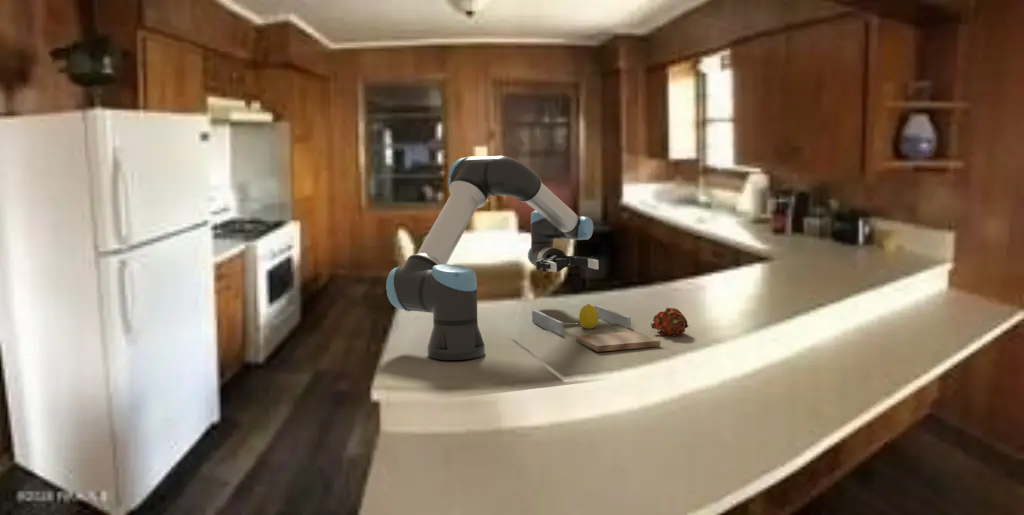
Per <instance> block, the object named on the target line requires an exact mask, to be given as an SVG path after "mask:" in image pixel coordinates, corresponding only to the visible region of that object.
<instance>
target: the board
mask: <svg viewBox="0 0 1024 515" xmlns="http://www.w3.org/2000/svg"><path fill="white" fill-rule="evenodd" d="M576 342H578V343H579V344H582V345H583V346H585V347H587V348H589V349H590V350H593V351H595V352H597V353H598V352H599V353H600V352H609V351H612V352H613V351H620V350H621V351H622V350H633V349H644V348H656V347H661V340H660V339H657V338H655V337H652V336H650V335H647V334H645V333H642V332H640V331H637V330H636V331H623V332H611V333H609V332H608V333H599V334H598V333H597V334H586V335H576Z"/></svg>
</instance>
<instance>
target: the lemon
mask: <svg viewBox="0 0 1024 515" xmlns="http://www.w3.org/2000/svg"><path fill="white" fill-rule="evenodd" d="M578 319H579V321H578V322H580V324H579V325H580V326H581V327H582V328H584V329H586V330H590V329H591V330H592V329H594V328H595V327H596V326H597V324H598V323H599V318H598V313H597V310H596V308H595V306H593V305H591V303H587V304H586V305H584V306H582V308H580V311H579V315H578Z"/></svg>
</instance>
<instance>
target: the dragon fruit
mask: <svg viewBox="0 0 1024 515" xmlns="http://www.w3.org/2000/svg"><path fill="white" fill-rule="evenodd" d="M650 320H652V321H653V322H650V326H651V329H655V330H657V331H659V333H660V335H661V336H666V335H668V336H669V337H675V336H678V335H682V334H684V333H685V332H686V329H688V327H689V324H688V320H687V318H686V317H685V315H684V314H683V313H682V312H681V311H680V310H679V309H678V308H674V307H666V308H665V310H664V311H663V310H662V311H659V312H658V313H657V314H655V315H654V316H653V318H652V319H650Z"/></svg>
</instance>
